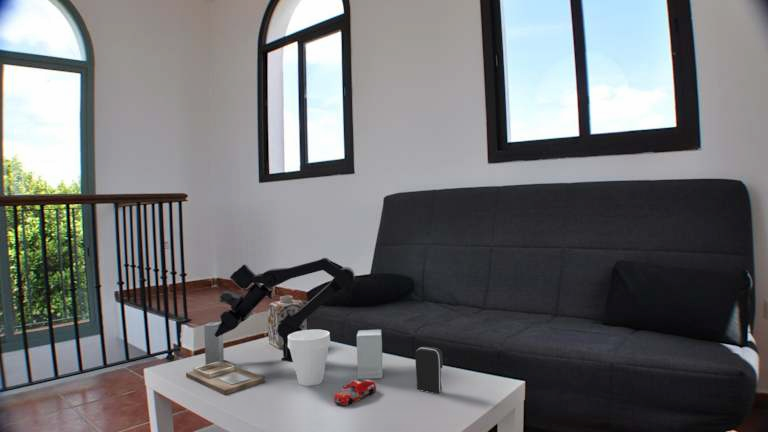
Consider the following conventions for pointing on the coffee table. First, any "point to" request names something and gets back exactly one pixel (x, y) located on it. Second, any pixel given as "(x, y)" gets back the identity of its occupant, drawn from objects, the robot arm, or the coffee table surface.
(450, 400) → the coffee table surface
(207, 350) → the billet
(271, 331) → the decorative jar
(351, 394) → the race car
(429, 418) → the coffee table surface
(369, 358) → the supplement box
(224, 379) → the wooden board
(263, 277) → the robot arm
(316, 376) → the cup
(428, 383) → the battery charger
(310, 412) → the coffee table surface
